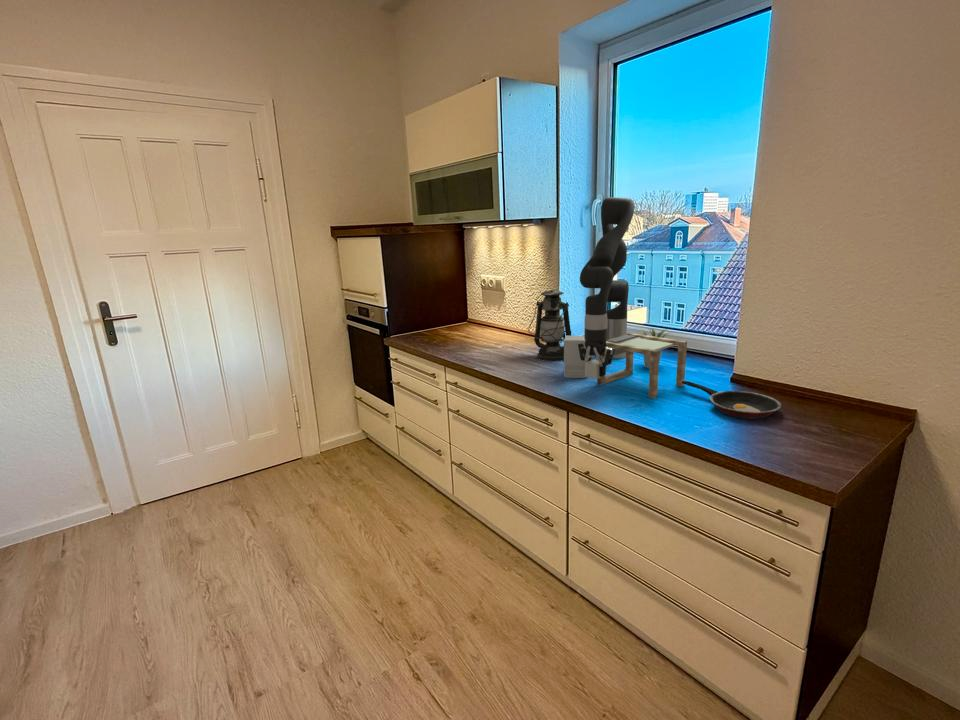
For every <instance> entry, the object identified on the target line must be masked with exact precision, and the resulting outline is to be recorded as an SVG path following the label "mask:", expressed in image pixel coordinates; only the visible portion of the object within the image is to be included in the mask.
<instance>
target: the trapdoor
mask: <svg viewBox="0 0 960 720" xmlns="http://www.w3.org/2000/svg"><path fill="white" fill-rule="evenodd" d="M607 342H613V343H619V344H625V345H631V346H636V347H642V348H648V349H654V350H660V351H662V350H665V349H667V348H671V347H674V345H673V343H666V342H660V341H654V340H647V339H641V337H638V338H636V336H632V335H623V336H620V337H616V338H612V339H609V340H607ZM610 349H611V348H610ZM625 352H628V351H624V350H618V349H614V354H613V355H618V354H621V353H625Z"/></svg>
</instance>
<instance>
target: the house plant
mask: <svg viewBox="0 0 960 720" xmlns="http://www.w3.org/2000/svg"><path fill="white" fill-rule="evenodd" d="M647 329H648V330H649V331H650V334H651V335H650V336H654V337H661V338H665V337H666V336H667V335H669V334H671V332H669V333H665V331H667V330H669V328H667V329H666V328H665V329H663V330H661V331H660V332H658V333H657V335H656V331H655V330H654V329H653V328H649V327H647ZM640 331H641V332H642V333H643V334H642V335H648V334H647V333H646V332H645V331H643V330H642V329H640ZM664 333H665V334H664ZM636 334H639V333H638V332H637V333H636ZM663 334H664V335H663ZM642 355H643V356H642V357H643V365H644V368H646V367H648V368H647V369H650V355H645V354H642ZM661 356H662V350H660V351H659V363H660V362H661Z"/></svg>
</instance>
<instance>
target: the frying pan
mask: <svg viewBox="0 0 960 720" xmlns="http://www.w3.org/2000/svg"><path fill="white" fill-rule="evenodd" d="M682 383H683V384H684V386H688V387H692V388H696V389H699V390H701V391H703V392H705V393H706V394H708V395H709V399H710V401H711V403H712V404H713V405H714V406H715V407H716V409H718V410H719V411H720V412H721V413H724V414H726V415H728V416H731V417H735V418H740V419H741V418H742V419H749V420H750V419H751V420H754V419H764V418H767V417H768V416H772V414H774V413H775V412H776V411H779V409H780V408H781V407H782V403H781V402H780V401H779V400H778V399H775V398H774V397H771V396H768V395H765V394H761V393H759V392H758V393H757V392H754V391H753V392H752V391H751V392H750V391H741V390H725V391H717V390H715V389H712V388H709V387H708V386H704V385H701V384H699V383H696V382H693V381H688V380H685V381H682Z"/></svg>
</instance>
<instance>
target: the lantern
mask: <svg viewBox="0 0 960 720" xmlns="http://www.w3.org/2000/svg"><path fill="white" fill-rule="evenodd" d="M563 294H565V292H563V291H560V290H552V289H551V290H546V291H543V292H541V293H540V295H541V296H544V297H543V300H542V301H539V300H536V306H535V309H534V315H533V317H532V319H531V322H530V324H529V327H528V329H527V332H528V333H529V334H531V335H534V337H533V342H534V343H535V345H536V346H537V347H538V353H537V354H536V359H537V358H538V359H537V360H539V359H540V360H539V361H543V360H544V362H561V360H562V361H564V345H561V344H562V342H564V339H565V337H566V336H572V329H571V321H570V315H569V314H570V313H569V306H570V304H569V302H568V301H566V303H565V302H564V301H562V298H561V296H562V295H563ZM561 310H562V313H561ZM543 311H544V316H543ZM535 316H536V322H535V330H534V331H535V332H534V333H532V332H531V331H530V329H531V326H532V324H533V321H534V319H535ZM542 342H543V343H542ZM544 342H545V343H544Z"/></svg>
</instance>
